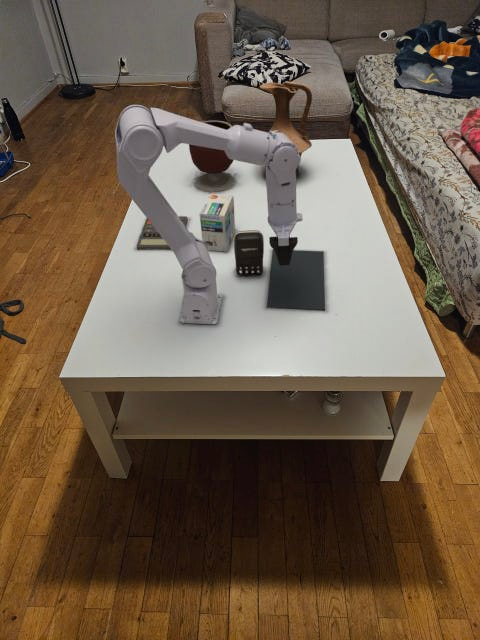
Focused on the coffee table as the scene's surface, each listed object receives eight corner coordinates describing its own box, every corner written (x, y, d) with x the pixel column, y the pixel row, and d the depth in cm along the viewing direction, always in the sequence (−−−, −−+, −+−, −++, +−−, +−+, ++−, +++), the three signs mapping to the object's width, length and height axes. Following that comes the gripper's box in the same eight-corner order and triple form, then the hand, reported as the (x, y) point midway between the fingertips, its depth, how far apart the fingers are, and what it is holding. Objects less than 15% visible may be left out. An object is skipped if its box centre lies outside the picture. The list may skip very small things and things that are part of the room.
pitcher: (310, 164, 153) (317, 73, 134) (308, 189, 141) (315, 92, 121) (258, 162, 155) (257, 72, 136) (251, 186, 143) (250, 91, 124)
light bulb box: (227, 252, 118) (225, 216, 111) (202, 250, 119) (198, 214, 112) (235, 230, 126) (234, 194, 118) (212, 228, 127) (209, 192, 119)
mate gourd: (238, 173, 150) (236, 110, 136) (233, 193, 140) (230, 128, 126) (192, 172, 152) (185, 109, 138) (184, 192, 142) (176, 127, 128)
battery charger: (235, 279, 110) (233, 239, 102) (235, 269, 113) (233, 230, 105) (264, 278, 110) (264, 238, 102) (263, 268, 113) (263, 228, 105)
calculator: (187, 215, 130) (180, 246, 119) (187, 218, 131) (180, 249, 120) (147, 215, 131) (136, 246, 120) (147, 218, 131) (136, 249, 120)
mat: (325, 310, 101) (325, 309, 101) (266, 307, 103) (266, 306, 102) (323, 252, 117) (323, 251, 117) (272, 250, 118) (272, 249, 118)
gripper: (304, 216, 84) (304, 273, 94) (300, 178, 94) (300, 233, 104) (266, 219, 85) (270, 275, 94) (266, 180, 95) (269, 234, 104)
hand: (284, 253), depth 99 cm, fingers open, 7 cm apart
